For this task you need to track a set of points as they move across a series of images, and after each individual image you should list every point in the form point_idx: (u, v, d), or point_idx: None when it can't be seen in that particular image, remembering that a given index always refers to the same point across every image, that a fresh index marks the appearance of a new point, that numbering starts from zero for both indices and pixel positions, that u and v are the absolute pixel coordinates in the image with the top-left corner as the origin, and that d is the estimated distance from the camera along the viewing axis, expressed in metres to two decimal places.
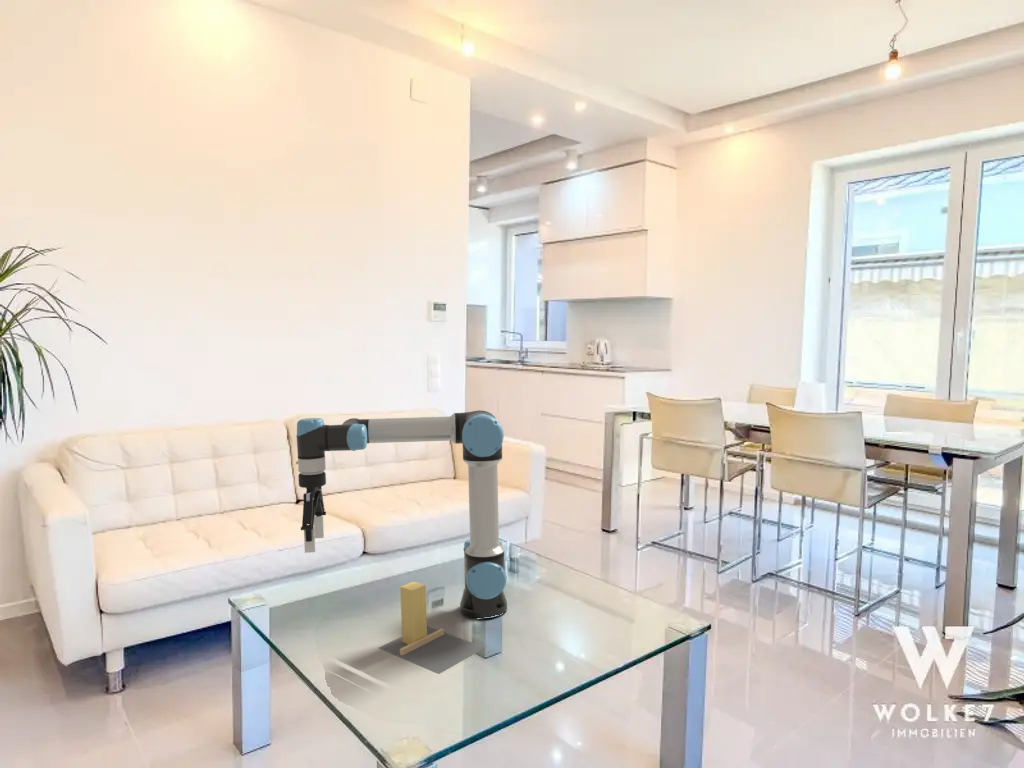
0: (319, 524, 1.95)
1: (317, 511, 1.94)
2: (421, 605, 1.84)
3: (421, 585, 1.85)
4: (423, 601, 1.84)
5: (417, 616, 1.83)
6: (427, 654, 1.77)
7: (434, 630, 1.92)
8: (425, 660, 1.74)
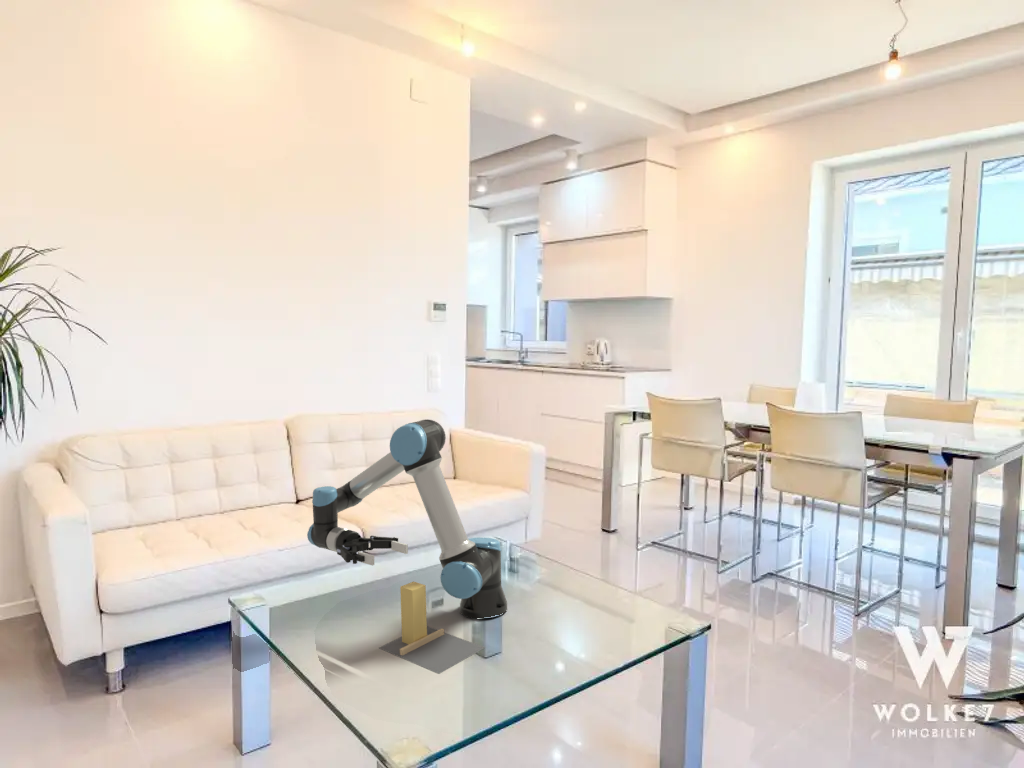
0: (396, 546, 1.97)
1: (386, 545, 1.99)
2: (421, 605, 1.84)
3: (421, 585, 1.85)
4: (423, 601, 1.84)
5: (417, 616, 1.83)
6: (427, 654, 1.77)
7: (434, 630, 1.92)
8: (425, 660, 1.74)
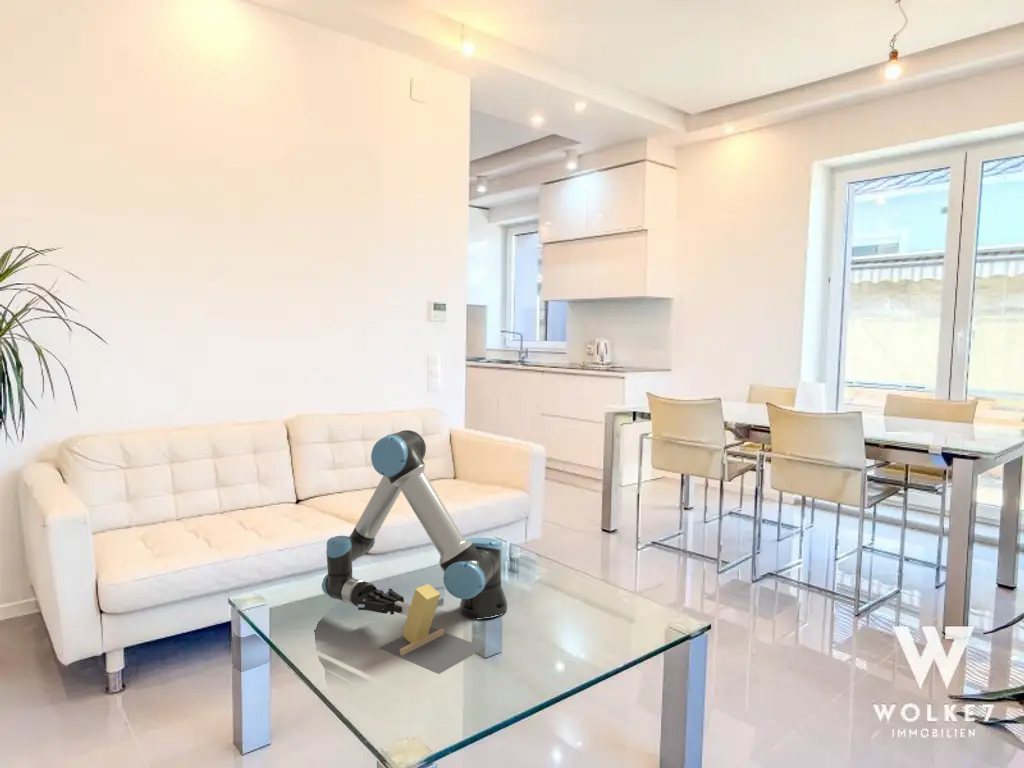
0: None
1: None
2: (430, 611, 1.81)
3: (436, 593, 1.81)
4: (433, 607, 1.82)
5: (424, 620, 1.81)
6: (427, 654, 1.77)
7: (434, 630, 1.92)
8: (425, 660, 1.74)
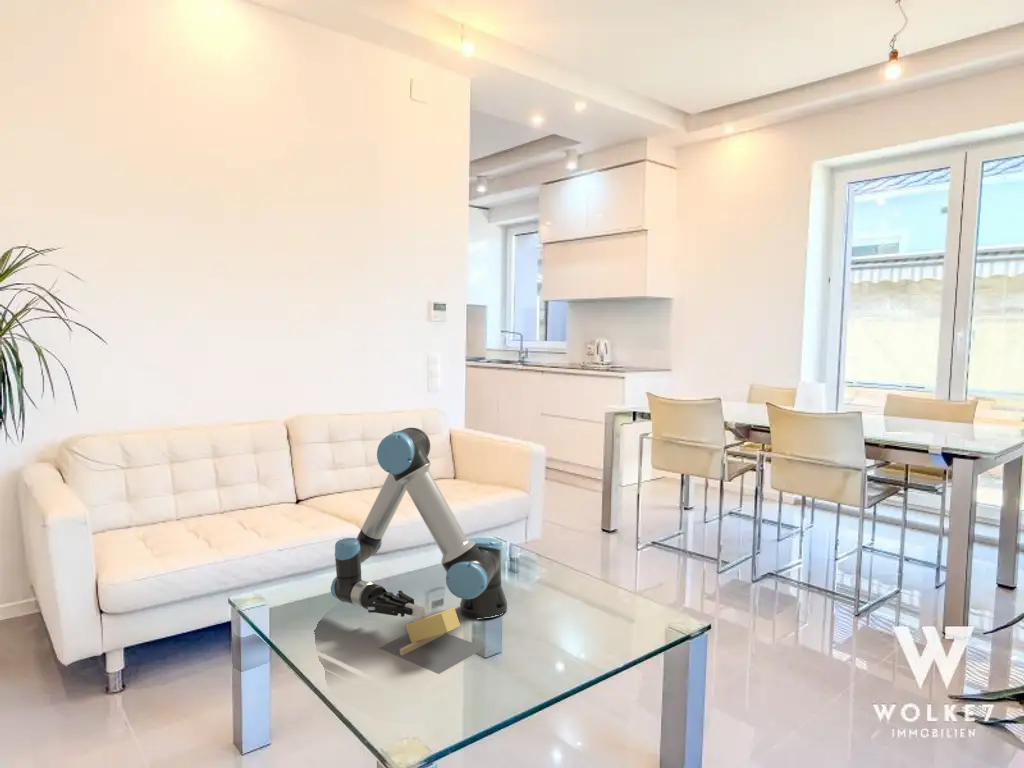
0: None
1: None
2: None
3: (457, 623, 1.77)
4: None
5: None
6: (427, 654, 1.77)
7: None
8: (425, 660, 1.74)
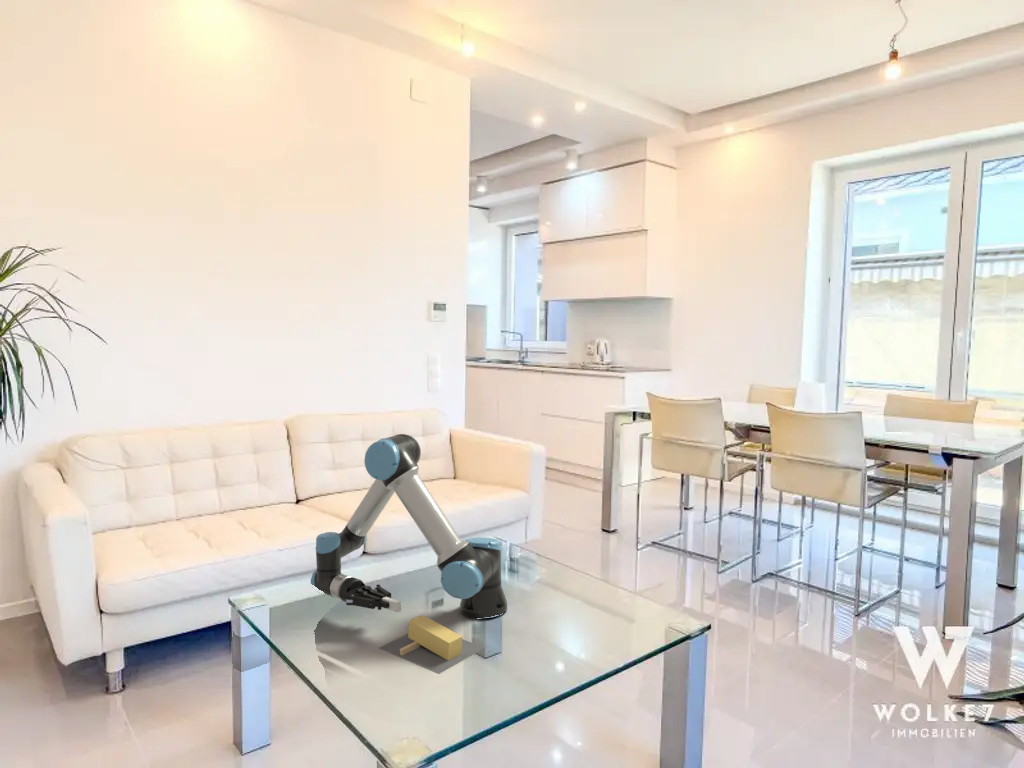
0: None
1: None
2: None
3: (459, 652, 1.76)
4: None
5: None
6: (427, 654, 1.77)
7: None
8: (425, 660, 1.74)
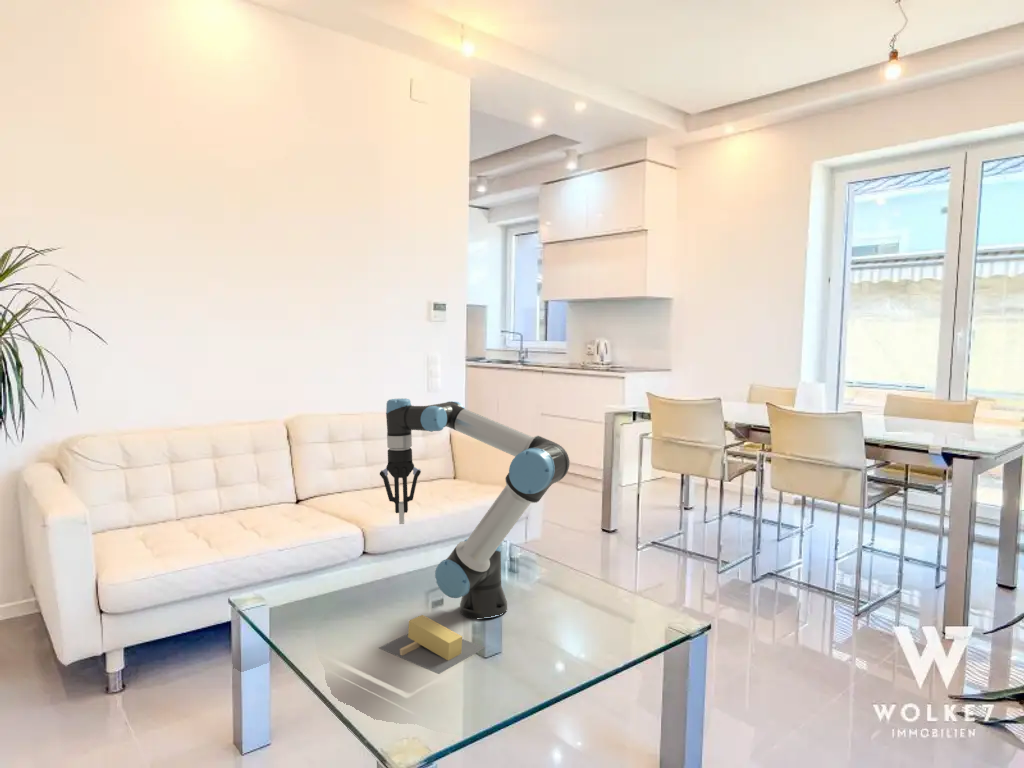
0: None
1: None
2: None
3: (459, 652, 1.76)
4: None
5: None
6: (427, 654, 1.77)
7: None
8: (425, 660, 1.74)
